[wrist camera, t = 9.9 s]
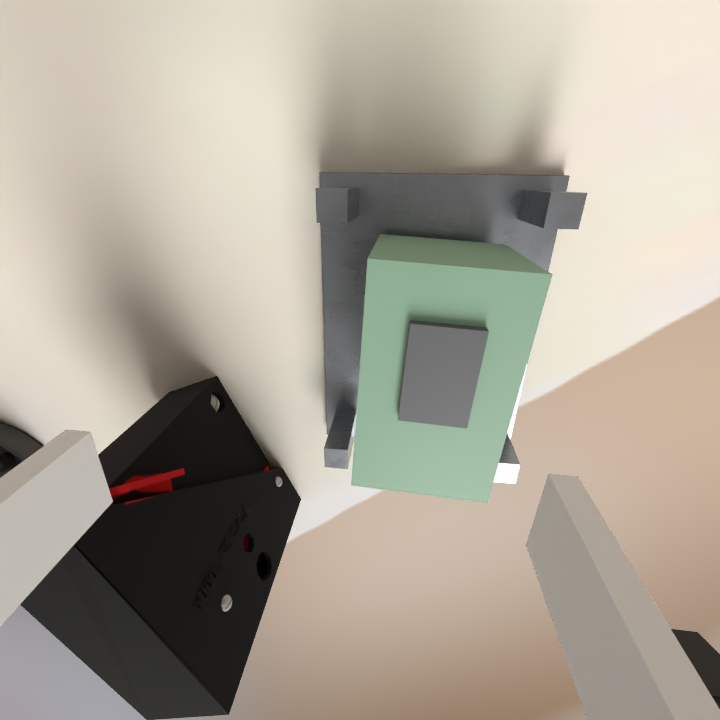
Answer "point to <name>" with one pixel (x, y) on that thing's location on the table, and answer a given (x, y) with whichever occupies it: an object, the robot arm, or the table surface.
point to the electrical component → (174, 558)
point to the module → (442, 363)
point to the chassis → (428, 220)
